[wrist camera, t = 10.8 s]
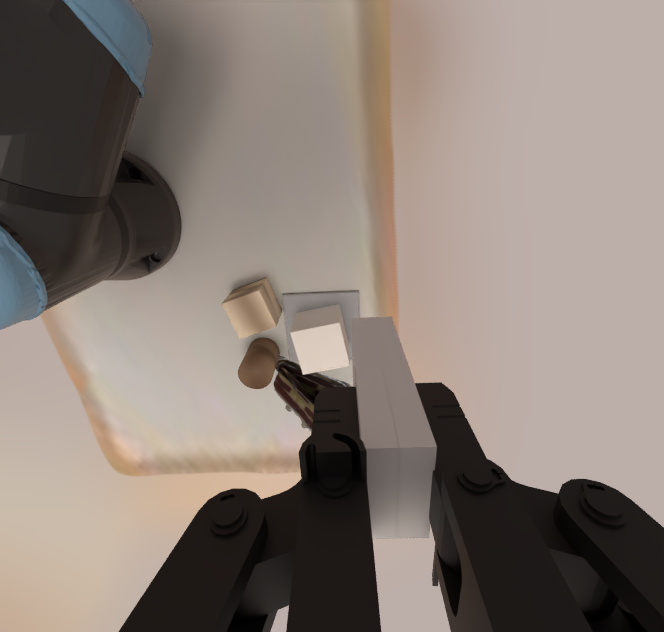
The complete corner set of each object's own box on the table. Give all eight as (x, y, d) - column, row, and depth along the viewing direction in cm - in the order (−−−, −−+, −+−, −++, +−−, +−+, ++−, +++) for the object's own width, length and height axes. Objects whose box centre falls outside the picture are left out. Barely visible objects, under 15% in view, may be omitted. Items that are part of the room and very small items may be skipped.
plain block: (306, 351, 50) (302, 374, 44) (295, 312, 48) (290, 332, 42) (348, 343, 49) (349, 365, 44) (339, 303, 47) (339, 322, 41)
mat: (290, 359, 51) (289, 361, 51) (282, 293, 47) (282, 295, 47) (359, 356, 51) (359, 358, 50) (358, 290, 47) (358, 292, 46)
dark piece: (255, 386, 54) (293, 458, 48) (270, 358, 50) (313, 433, 44) (305, 371, 60) (343, 433, 55) (322, 345, 56) (365, 410, 50)
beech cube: (249, 322, 49) (240, 338, 44) (232, 290, 47) (221, 304, 43) (282, 310, 48) (276, 326, 44) (266, 277, 46) (259, 290, 42)
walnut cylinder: (251, 365, 52) (240, 389, 46) (246, 338, 50) (235, 360, 44) (281, 364, 52) (274, 388, 46) (277, 337, 50) (270, 358, 44)
